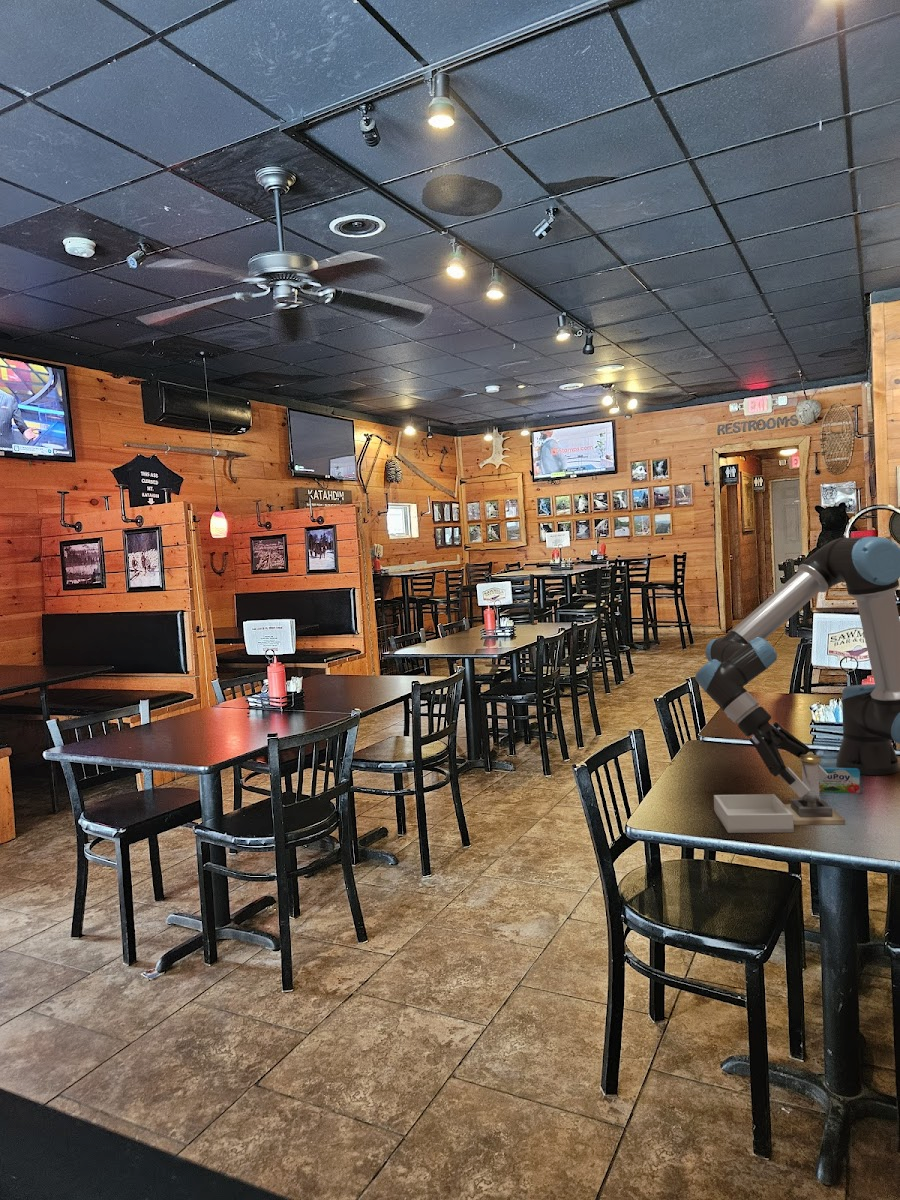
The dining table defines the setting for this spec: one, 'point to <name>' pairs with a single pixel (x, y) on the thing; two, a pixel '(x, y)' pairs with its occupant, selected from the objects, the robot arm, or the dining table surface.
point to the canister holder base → (813, 813)
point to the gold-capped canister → (810, 779)
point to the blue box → (841, 781)
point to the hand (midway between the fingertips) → (815, 786)
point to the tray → (753, 813)
